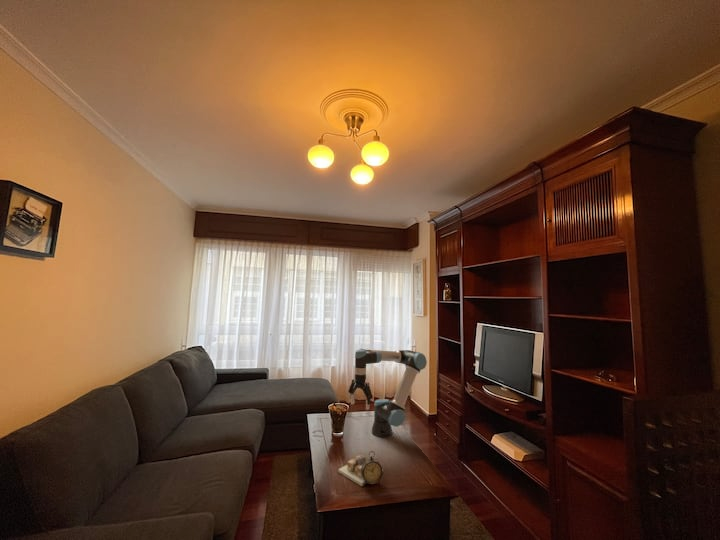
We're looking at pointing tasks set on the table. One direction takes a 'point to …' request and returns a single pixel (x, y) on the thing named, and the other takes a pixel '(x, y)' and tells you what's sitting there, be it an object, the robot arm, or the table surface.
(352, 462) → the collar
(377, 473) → the alarm clock
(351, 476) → the post board
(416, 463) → the table surface
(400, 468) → the table surface
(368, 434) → the table surface
